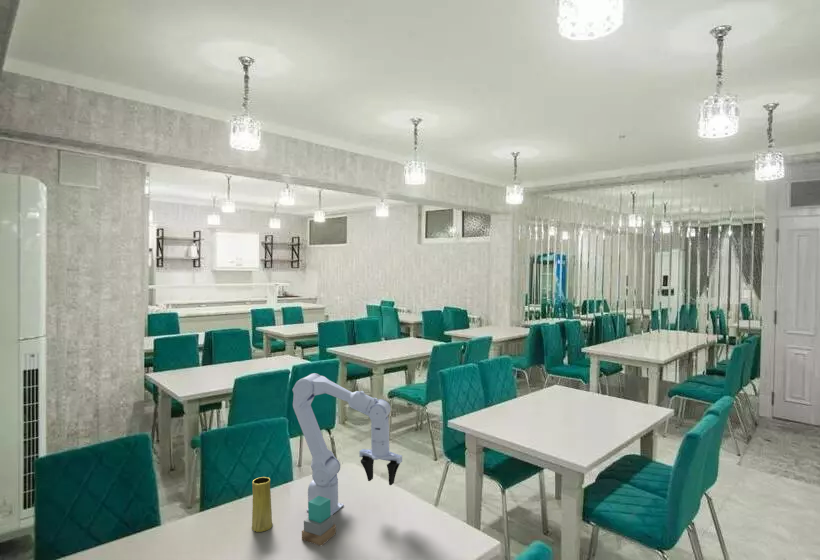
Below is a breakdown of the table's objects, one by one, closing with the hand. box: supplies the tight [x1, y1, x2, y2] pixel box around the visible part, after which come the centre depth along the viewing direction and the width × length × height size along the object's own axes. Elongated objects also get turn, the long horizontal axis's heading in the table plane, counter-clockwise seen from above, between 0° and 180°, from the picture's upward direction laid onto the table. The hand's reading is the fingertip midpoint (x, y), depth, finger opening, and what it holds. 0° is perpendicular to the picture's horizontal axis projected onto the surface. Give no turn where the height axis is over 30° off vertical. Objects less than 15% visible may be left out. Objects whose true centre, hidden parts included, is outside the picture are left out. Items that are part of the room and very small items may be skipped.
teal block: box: [307, 496, 331, 523], centre depth 136 cm, size 4×4×5 cm
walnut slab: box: [301, 523, 337, 546], centre depth 136 cm, size 7×7×3 cm
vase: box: [251, 476, 273, 533], centre depth 142 cm, size 6×6×14 cm
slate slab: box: [303, 515, 334, 536], centre depth 136 cm, size 6×6×3 cm
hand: (380, 481), depth 149 cm, fingers open, 7 cm apart
